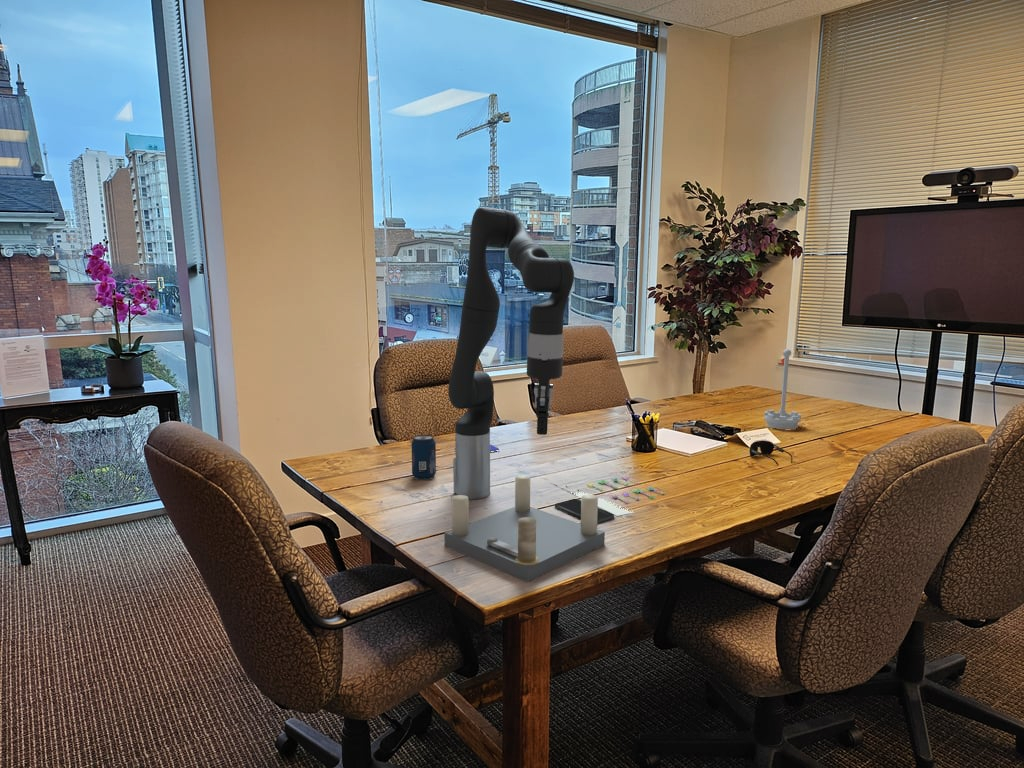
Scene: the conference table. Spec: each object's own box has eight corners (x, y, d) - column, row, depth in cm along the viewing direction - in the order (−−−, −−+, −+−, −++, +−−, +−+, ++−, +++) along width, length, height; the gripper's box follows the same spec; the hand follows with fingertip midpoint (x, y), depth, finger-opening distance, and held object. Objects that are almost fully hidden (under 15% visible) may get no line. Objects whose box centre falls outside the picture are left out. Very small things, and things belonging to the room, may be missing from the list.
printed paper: (549, 483, 192) (549, 478, 192) (631, 469, 207) (631, 465, 207) (617, 517, 167) (617, 511, 166) (704, 498, 182) (704, 493, 182)
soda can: (413, 473, 200) (413, 433, 198) (437, 473, 200) (436, 434, 198) (410, 480, 194) (409, 440, 191) (434, 480, 194) (434, 440, 191)
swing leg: (482, 544, 141) (482, 508, 140) (494, 539, 144) (494, 504, 142) (527, 563, 132) (527, 525, 131) (539, 558, 135) (539, 520, 133)
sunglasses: (768, 452, 224) (771, 438, 222) (796, 467, 213) (799, 452, 212) (744, 456, 219) (746, 442, 218) (771, 471, 209) (774, 456, 208)
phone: (592, 522, 161) (552, 504, 173) (592, 526, 161) (552, 508, 173) (616, 515, 165) (576, 498, 177) (616, 519, 165) (576, 502, 177)
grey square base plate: (444, 545, 149) (443, 497, 147) (522, 515, 167) (522, 472, 165) (527, 582, 132) (528, 528, 130) (604, 544, 150) (605, 497, 148)
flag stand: (806, 430, 253) (812, 351, 248) (771, 431, 253) (777, 351, 247) (791, 422, 266) (797, 347, 260) (758, 422, 265) (763, 347, 260)
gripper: (529, 348, 149) (526, 425, 152) (525, 358, 136) (522, 441, 139) (563, 350, 148) (559, 426, 152) (562, 360, 135) (559, 443, 139)
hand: (541, 433), depth 146 cm, fingers closed
